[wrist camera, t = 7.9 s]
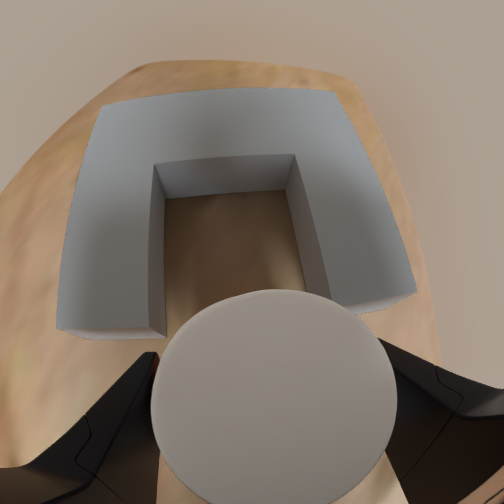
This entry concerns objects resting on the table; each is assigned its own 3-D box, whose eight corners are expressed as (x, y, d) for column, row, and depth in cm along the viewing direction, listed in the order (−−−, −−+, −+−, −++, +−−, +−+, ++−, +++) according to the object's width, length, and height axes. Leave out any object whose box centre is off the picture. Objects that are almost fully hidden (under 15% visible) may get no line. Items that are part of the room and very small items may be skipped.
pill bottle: (192, 330, 15) (124, 242, 5) (301, 330, 16) (409, 248, 6) (192, 437, 13) (123, 532, 3) (304, 435, 13) (420, 507, 3)
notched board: (385, 308, 18) (417, 291, 14) (88, 339, 16) (56, 328, 12) (323, 123, 25) (333, 91, 21) (113, 137, 23) (102, 105, 19)
